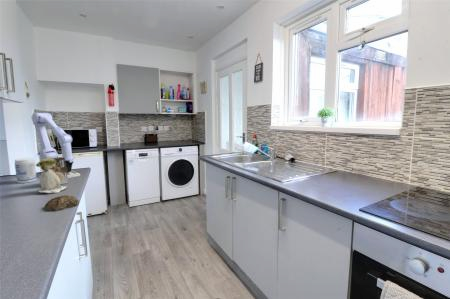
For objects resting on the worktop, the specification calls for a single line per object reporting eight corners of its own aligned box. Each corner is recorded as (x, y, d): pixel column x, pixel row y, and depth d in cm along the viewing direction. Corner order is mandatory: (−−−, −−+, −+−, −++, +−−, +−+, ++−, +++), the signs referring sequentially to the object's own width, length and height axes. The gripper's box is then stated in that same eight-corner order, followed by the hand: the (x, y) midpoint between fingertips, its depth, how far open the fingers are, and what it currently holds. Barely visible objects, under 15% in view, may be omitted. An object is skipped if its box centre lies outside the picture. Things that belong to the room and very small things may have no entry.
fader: (65, 172, 162) (65, 167, 162) (69, 171, 164) (69, 166, 163) (66, 172, 161) (66, 167, 160) (70, 171, 163) (70, 166, 162)
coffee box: (64, 181, 144) (61, 156, 142) (68, 183, 141) (65, 157, 138) (47, 185, 137) (43, 159, 135) (50, 186, 133) (47, 160, 131)
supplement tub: (13, 184, 140) (10, 161, 138) (22, 180, 149) (19, 158, 147) (32, 182, 143) (29, 159, 140) (39, 178, 152) (36, 157, 149)
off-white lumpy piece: (47, 195, 118) (42, 161, 115) (32, 193, 123) (27, 159, 120) (70, 189, 129) (66, 157, 126) (55, 186, 134) (51, 156, 131)
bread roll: (72, 199, 113) (71, 189, 112) (82, 205, 105) (81, 195, 105) (40, 207, 103) (39, 197, 103) (48, 214, 96) (46, 203, 95)
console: (50, 176, 158) (49, 171, 157) (71, 172, 168) (71, 167, 167) (57, 179, 148) (57, 174, 147) (80, 175, 158) (79, 170, 158)
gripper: (77, 152, 157) (79, 171, 159) (69, 150, 166) (71, 168, 168) (65, 153, 152) (67, 173, 154) (58, 152, 161) (60, 170, 163)
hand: (69, 171), depth 161 cm, fingers closed
